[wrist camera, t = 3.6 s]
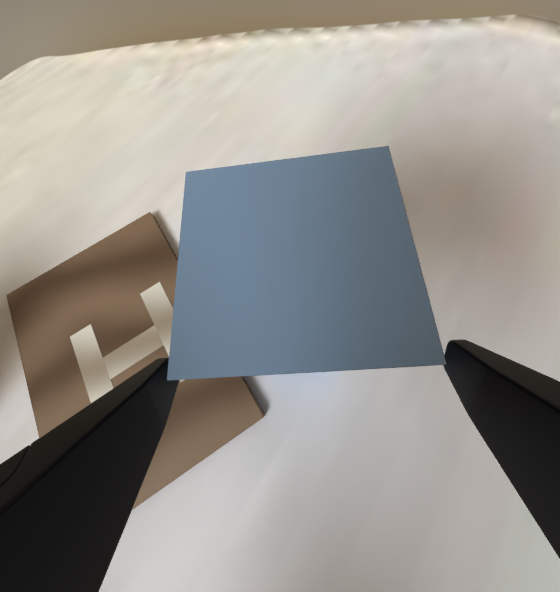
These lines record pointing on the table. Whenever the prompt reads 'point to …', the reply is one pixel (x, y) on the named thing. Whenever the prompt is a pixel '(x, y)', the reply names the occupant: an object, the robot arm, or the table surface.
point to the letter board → (121, 346)
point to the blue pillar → (299, 271)
